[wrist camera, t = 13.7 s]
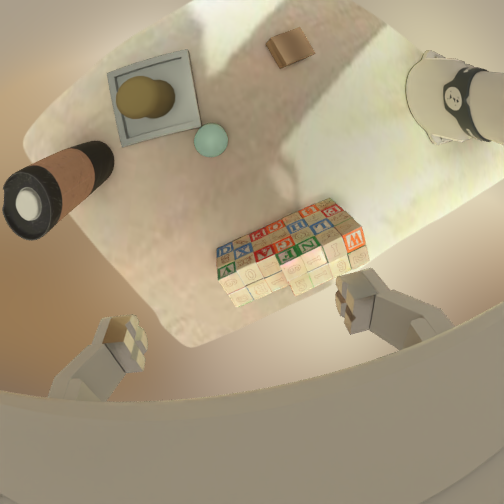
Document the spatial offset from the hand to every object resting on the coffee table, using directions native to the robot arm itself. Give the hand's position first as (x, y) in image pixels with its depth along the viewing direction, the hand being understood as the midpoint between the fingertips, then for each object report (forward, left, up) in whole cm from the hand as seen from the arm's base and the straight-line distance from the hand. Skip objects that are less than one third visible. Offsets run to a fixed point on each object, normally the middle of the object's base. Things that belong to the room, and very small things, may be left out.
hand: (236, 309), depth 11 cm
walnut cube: (-12, -15, -34) cm, 39 cm away
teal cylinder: (+1, -3, -34) cm, 34 cm away
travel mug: (+20, -4, -34) cm, 40 cm away
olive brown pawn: (+8, -11, -34) cm, 36 cm away
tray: (+8, -11, -34) cm, 37 cm away
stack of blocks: (-7, +16, -34) cm, 39 cm away
